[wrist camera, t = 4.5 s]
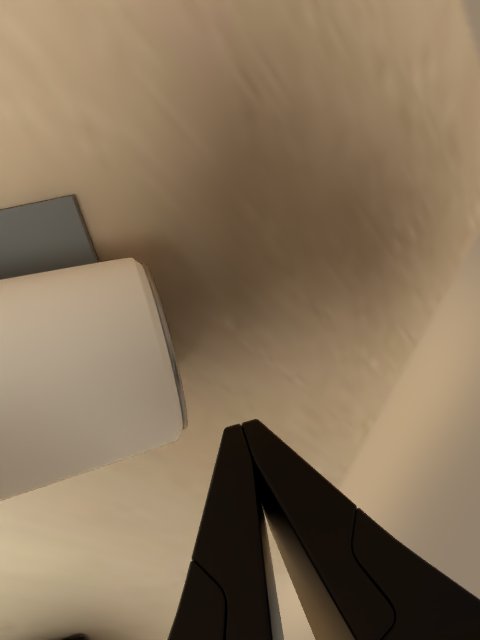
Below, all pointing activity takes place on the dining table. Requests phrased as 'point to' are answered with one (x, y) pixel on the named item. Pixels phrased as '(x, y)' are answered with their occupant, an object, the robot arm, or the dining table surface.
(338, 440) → the dining table surface
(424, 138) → the dining table surface
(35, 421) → the can
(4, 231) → the mat
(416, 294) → the dining table surface
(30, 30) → the dining table surface
